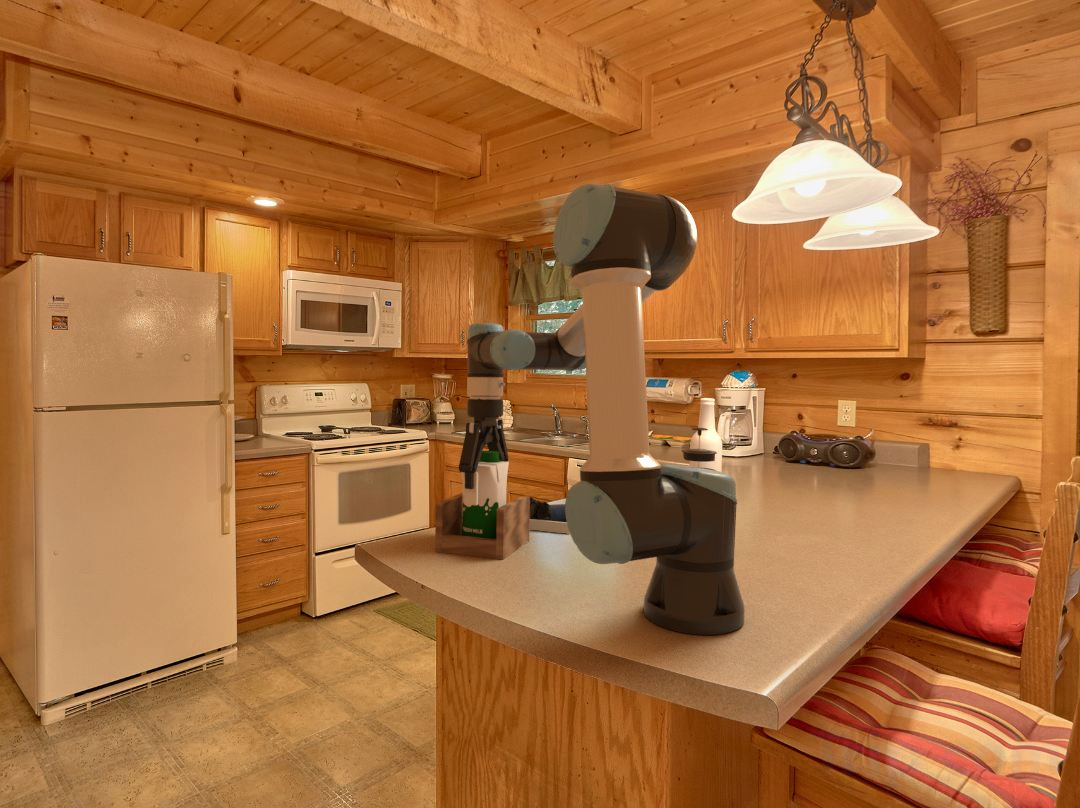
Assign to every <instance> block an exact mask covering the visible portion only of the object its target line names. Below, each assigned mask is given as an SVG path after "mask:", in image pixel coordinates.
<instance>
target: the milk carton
mask: <svg viewBox="0 0 1080 808" xmlns="http://www.w3.org/2000/svg"><path fill="white" fill-rule="evenodd" d="M509 464H510V461H508V462H504V461H500V460H499V452H498V451H489V450H483V451H482V454H481V457H480V460H479V463H478V466H477V469H476V472H478V505H466V504H464V472H460V476H461V480H462V481H461V482H462V493H463V506H462V534H461V536H470V537H479V538H489V539H496V528H497V509H498V508H500V507H502V506H504V505H506V504H507V486H508V485H507V481H508V473H509V472H508V471H509Z"/></svg>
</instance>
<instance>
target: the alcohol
mask: <svg viewBox="0 0 1080 808" xmlns="http://www.w3.org/2000/svg"><path fill="white" fill-rule="evenodd" d="M699 400H700V402H699V405H700V407H699V418H698V423H697V425H698V426H697V428H706V429H708V430H702V433H701V436H700V449H706V450H711V451H716V452H717V454H715V461H710V462H699V468H709V469H714V470H716V471H719V472H723V471H722V468H723V442H722V438H721V436H720V435H719V434H718V432H717V429H716V421H715V420H716V419H715V418H716V416H715V415H716V414H715V405H716V403H715V401H716V400H715V398H710V397H704V398H703V397H702V398H700V399H699ZM689 449H699V435H698V430H696V432H694V434H693V435H692V437H691V439H690V443H689ZM689 467H698V461H689Z"/></svg>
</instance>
